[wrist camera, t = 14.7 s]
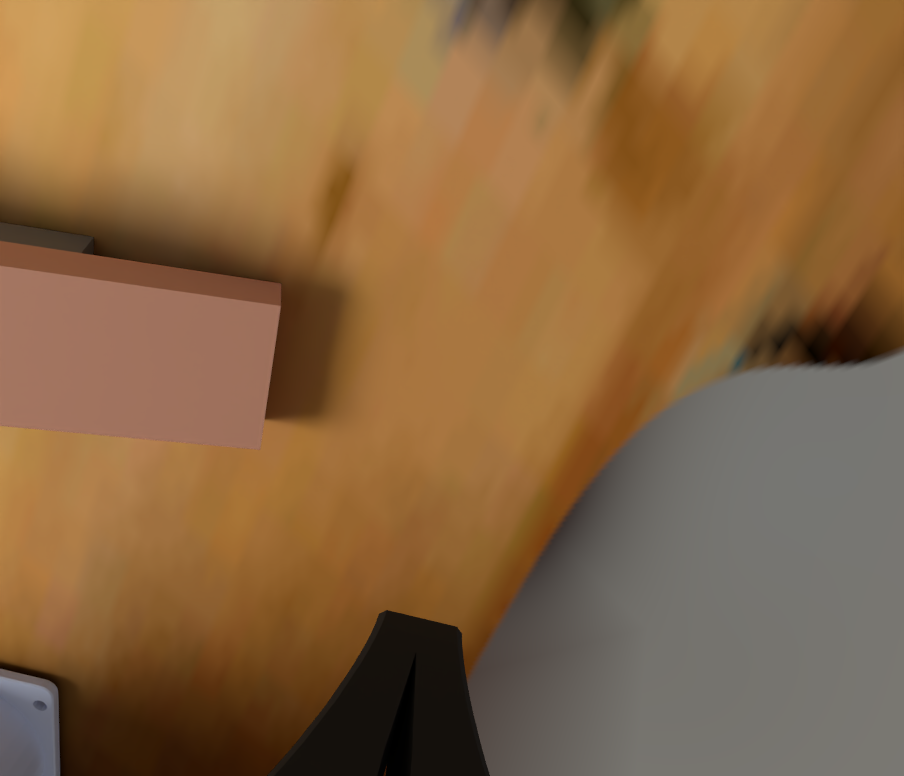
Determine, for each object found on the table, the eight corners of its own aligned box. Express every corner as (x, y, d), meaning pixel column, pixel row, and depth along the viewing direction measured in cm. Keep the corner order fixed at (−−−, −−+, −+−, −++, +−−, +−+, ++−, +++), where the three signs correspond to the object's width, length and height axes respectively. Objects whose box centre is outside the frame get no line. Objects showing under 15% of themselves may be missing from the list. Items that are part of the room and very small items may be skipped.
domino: (260, 449, 21) (-65, 419, 19) (261, 420, 23) (-42, 389, 21) (281, 305, 19) (-78, 254, 17) (281, 283, 21) (-51, 233, 19)
